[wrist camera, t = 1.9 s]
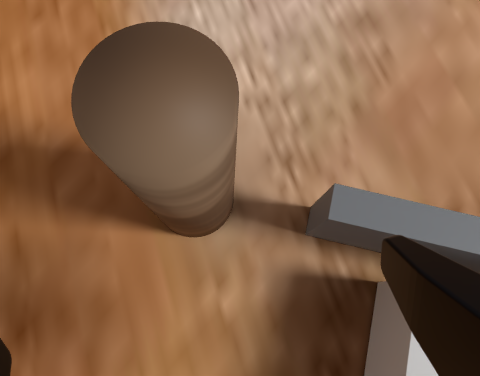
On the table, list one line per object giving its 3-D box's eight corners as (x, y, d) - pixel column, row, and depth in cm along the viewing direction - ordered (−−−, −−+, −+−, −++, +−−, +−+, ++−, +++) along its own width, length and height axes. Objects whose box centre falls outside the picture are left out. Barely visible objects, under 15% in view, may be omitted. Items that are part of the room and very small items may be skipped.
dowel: (223, 245, 21) (216, 192, 9) (147, 227, 21) (47, 153, 9) (240, 171, 22) (255, 40, 10) (168, 154, 22) (101, 6, 10)
